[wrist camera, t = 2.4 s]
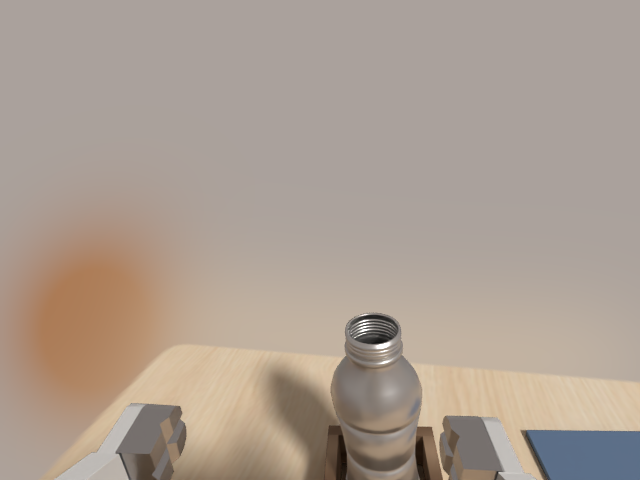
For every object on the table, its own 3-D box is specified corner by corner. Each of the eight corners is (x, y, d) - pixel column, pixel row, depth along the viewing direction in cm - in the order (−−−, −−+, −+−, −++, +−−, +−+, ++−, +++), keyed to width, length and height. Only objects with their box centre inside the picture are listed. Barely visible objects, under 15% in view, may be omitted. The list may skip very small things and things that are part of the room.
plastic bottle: (428, 561, 28) (432, 363, 20) (343, 551, 29) (315, 360, 21) (420, 479, 34) (420, 300, 26) (349, 473, 35) (329, 301, 27)
